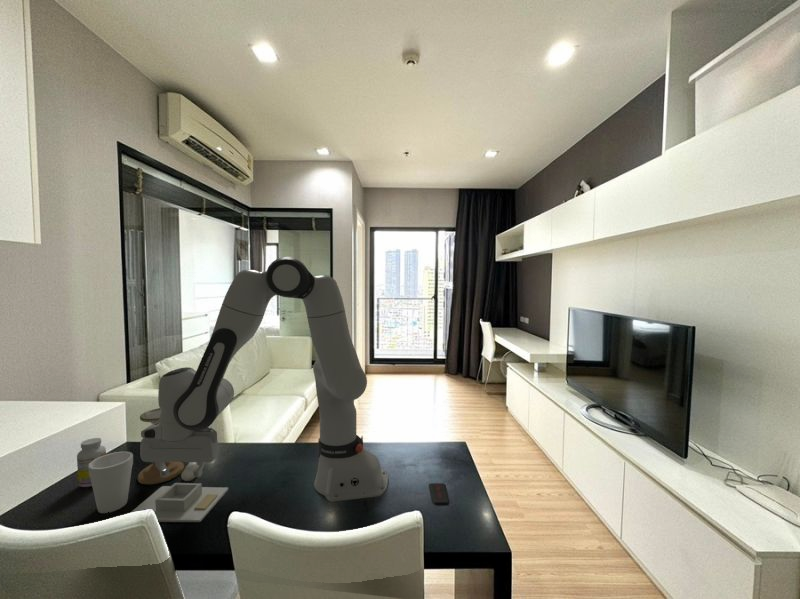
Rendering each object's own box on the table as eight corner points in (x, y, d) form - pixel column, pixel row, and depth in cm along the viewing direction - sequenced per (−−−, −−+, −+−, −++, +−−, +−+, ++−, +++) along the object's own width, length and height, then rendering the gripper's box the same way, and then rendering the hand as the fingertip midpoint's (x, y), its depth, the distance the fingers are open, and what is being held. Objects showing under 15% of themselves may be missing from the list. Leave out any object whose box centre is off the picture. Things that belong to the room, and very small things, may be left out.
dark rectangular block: (445, 490, 104) (445, 481, 104) (452, 516, 92) (452, 507, 92) (428, 490, 104) (428, 481, 104) (432, 517, 92) (433, 507, 92)
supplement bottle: (102, 473, 111) (100, 434, 110) (110, 479, 107) (109, 439, 107) (74, 483, 105) (72, 442, 104) (82, 490, 102) (81, 448, 101)
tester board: (228, 490, 102) (228, 477, 102) (200, 523, 88) (199, 508, 88) (162, 489, 103) (162, 476, 102) (123, 521, 89) (123, 506, 88)
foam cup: (108, 519, 90) (107, 471, 89) (80, 514, 91) (78, 466, 91) (142, 497, 99) (141, 453, 98) (116, 493, 101) (115, 449, 100)
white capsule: (182, 482, 107) (192, 468, 115) (196, 479, 108) (205, 464, 116) (179, 470, 106) (190, 457, 115) (193, 467, 107) (203, 453, 116)
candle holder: (192, 469, 114) (191, 409, 113) (152, 489, 103) (151, 423, 102) (169, 460, 119) (168, 403, 118) (129, 479, 108) (127, 416, 107)
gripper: (222, 422, 97) (224, 469, 98) (152, 422, 98) (154, 469, 99) (209, 432, 91) (211, 482, 92) (134, 432, 92) (137, 482, 93)
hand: (181, 475), depth 95 cm, fingers open, 8 cm apart
